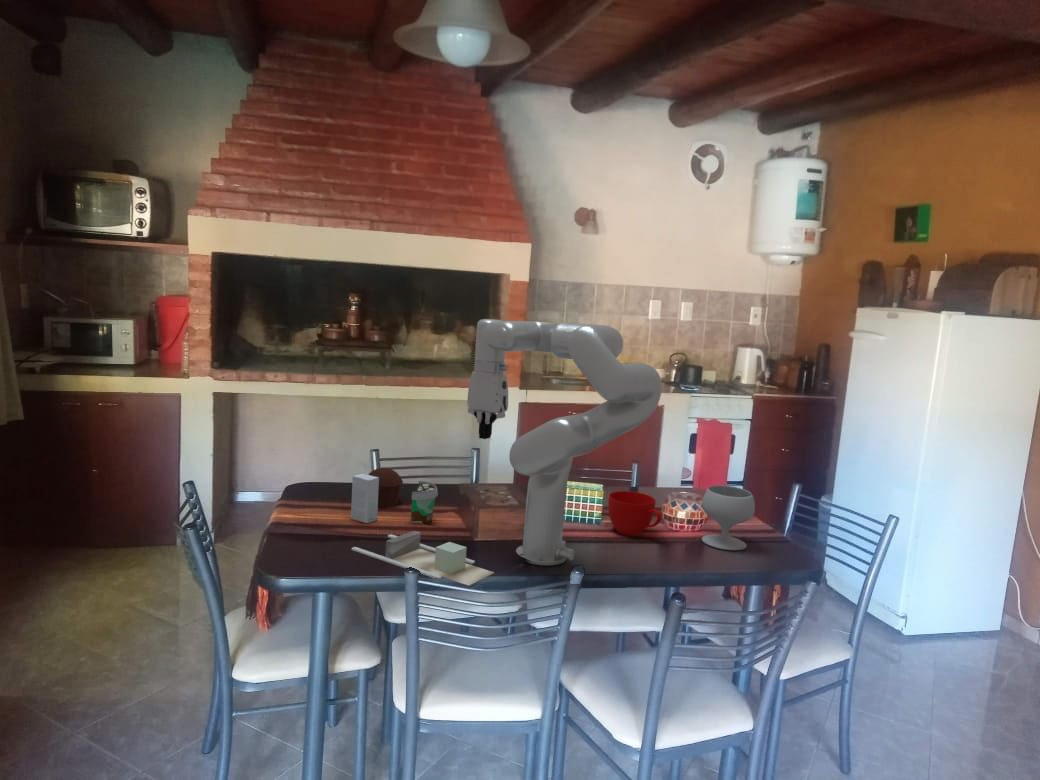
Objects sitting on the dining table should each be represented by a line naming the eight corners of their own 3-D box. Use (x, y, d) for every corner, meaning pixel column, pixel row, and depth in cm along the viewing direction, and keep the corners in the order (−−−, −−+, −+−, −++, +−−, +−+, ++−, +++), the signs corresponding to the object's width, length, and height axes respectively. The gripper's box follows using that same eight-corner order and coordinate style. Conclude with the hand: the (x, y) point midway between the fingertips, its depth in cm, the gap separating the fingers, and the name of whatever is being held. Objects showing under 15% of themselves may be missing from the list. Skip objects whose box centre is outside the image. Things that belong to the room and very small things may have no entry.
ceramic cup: (641, 547, 202) (645, 511, 200) (595, 528, 215) (599, 494, 213) (672, 539, 210) (676, 504, 209) (627, 522, 223) (630, 488, 222)
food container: (432, 530, 202) (435, 494, 201) (409, 528, 202) (411, 492, 201) (438, 516, 214) (441, 481, 213) (417, 514, 214) (419, 480, 213)
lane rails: (474, 567, 179) (475, 560, 178) (437, 584, 167) (438, 577, 167) (390, 540, 192) (391, 534, 192) (351, 554, 181) (351, 548, 180)
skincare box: (377, 520, 207) (379, 477, 205) (366, 523, 203) (369, 480, 201) (360, 515, 210) (362, 473, 208) (349, 518, 206) (351, 475, 204)
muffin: (403, 508, 219) (405, 475, 217) (364, 508, 216) (366, 474, 214) (399, 496, 230) (401, 464, 229) (361, 496, 227) (363, 464, 226)
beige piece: (494, 576, 173) (496, 555, 173) (468, 589, 165) (470, 567, 164) (413, 550, 186) (414, 530, 185) (385, 561, 178) (386, 540, 177)
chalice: (750, 540, 215) (757, 489, 213) (749, 556, 202) (756, 501, 200) (699, 532, 219) (705, 481, 217) (695, 547, 206) (701, 493, 204)
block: (465, 568, 175) (466, 547, 174) (451, 574, 170) (453, 552, 170) (447, 562, 177) (449, 541, 177) (434, 568, 173) (435, 547, 172)
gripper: (521, 370, 195) (516, 440, 197) (472, 363, 202) (468, 431, 205) (506, 371, 188) (502, 444, 191) (456, 365, 196) (452, 435, 198)
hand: (484, 437), depth 198 cm, fingers closed
